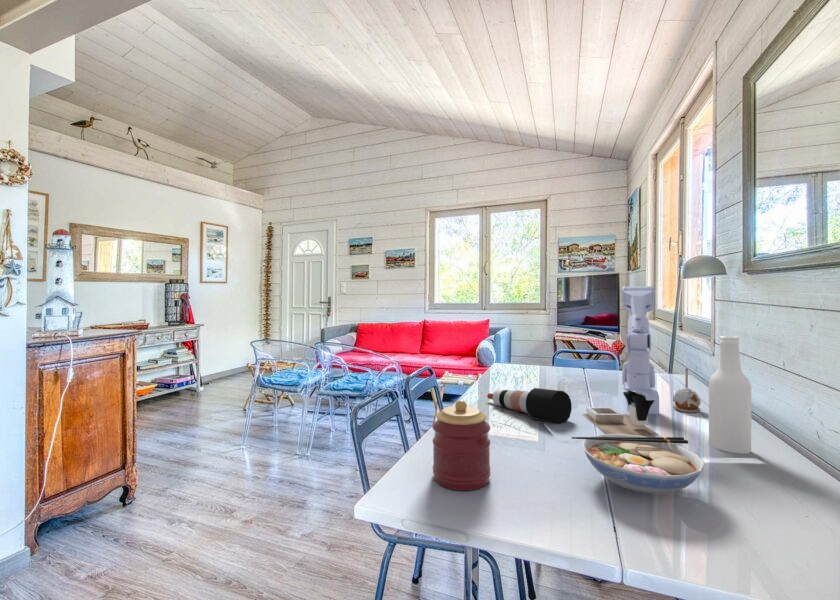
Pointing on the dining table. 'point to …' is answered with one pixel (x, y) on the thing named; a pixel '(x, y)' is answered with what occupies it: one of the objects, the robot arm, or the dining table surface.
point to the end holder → (604, 415)
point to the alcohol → (730, 401)
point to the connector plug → (635, 416)
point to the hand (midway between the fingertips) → (638, 418)
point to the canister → (461, 448)
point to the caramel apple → (686, 399)
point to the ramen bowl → (643, 461)
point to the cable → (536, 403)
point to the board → (622, 427)
